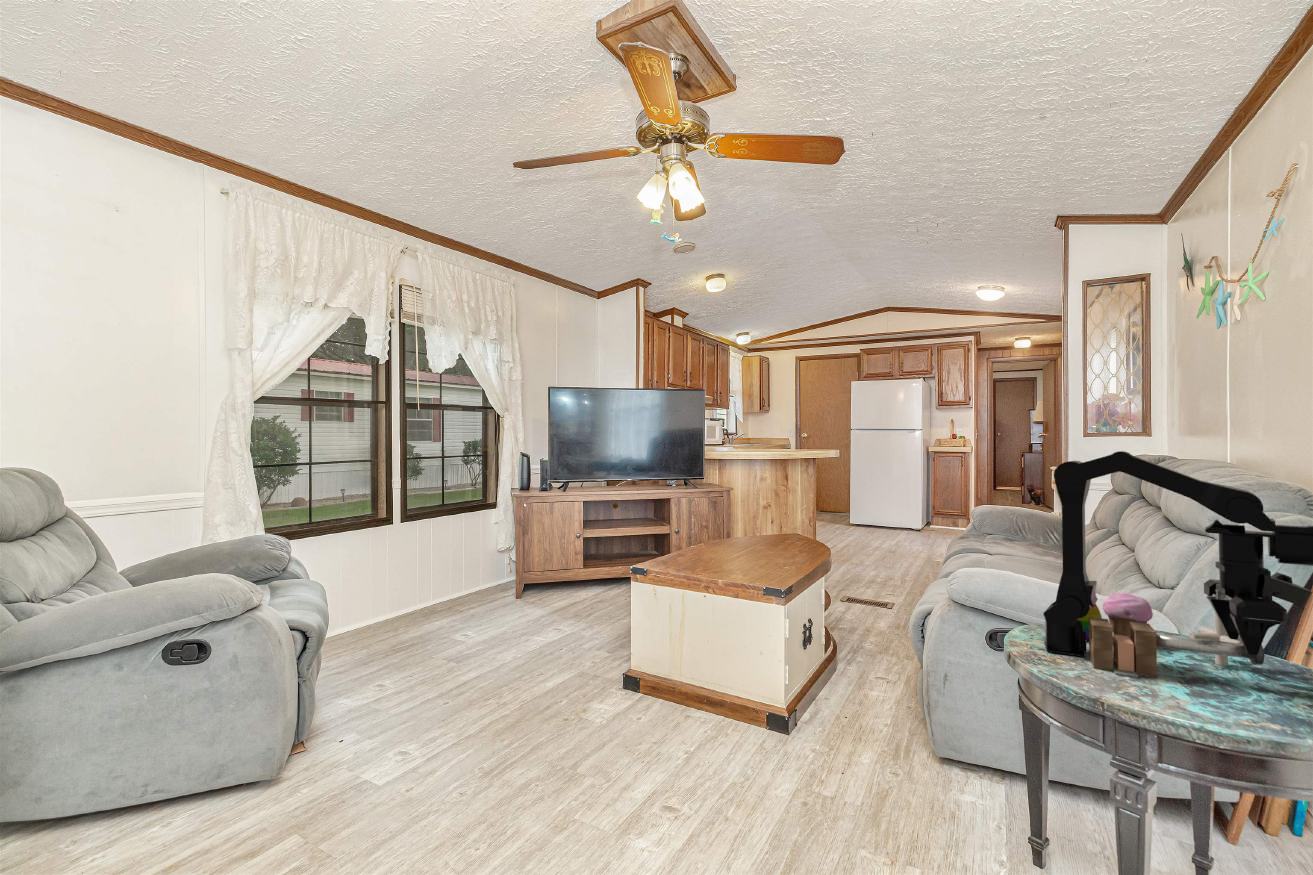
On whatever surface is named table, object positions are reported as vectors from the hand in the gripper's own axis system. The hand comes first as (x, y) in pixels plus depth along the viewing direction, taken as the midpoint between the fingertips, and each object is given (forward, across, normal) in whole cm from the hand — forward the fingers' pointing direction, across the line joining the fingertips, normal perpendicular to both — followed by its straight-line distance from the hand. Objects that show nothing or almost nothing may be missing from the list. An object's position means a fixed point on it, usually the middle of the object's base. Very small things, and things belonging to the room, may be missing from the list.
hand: (1242, 646), depth 106 cm
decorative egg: (+7, +18, +22) cm, 29 cm away
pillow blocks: (+7, 0, +17) cm, 19 cm away
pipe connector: (+7, +11, 0) cm, 13 cm away
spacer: (+6, 0, +17) cm, 18 cm away
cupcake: (+7, +21, +13) cm, 26 cm away
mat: (+7, 0, +17) cm, 19 cm away
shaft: (+3, 0, +6) cm, 7 cm away
